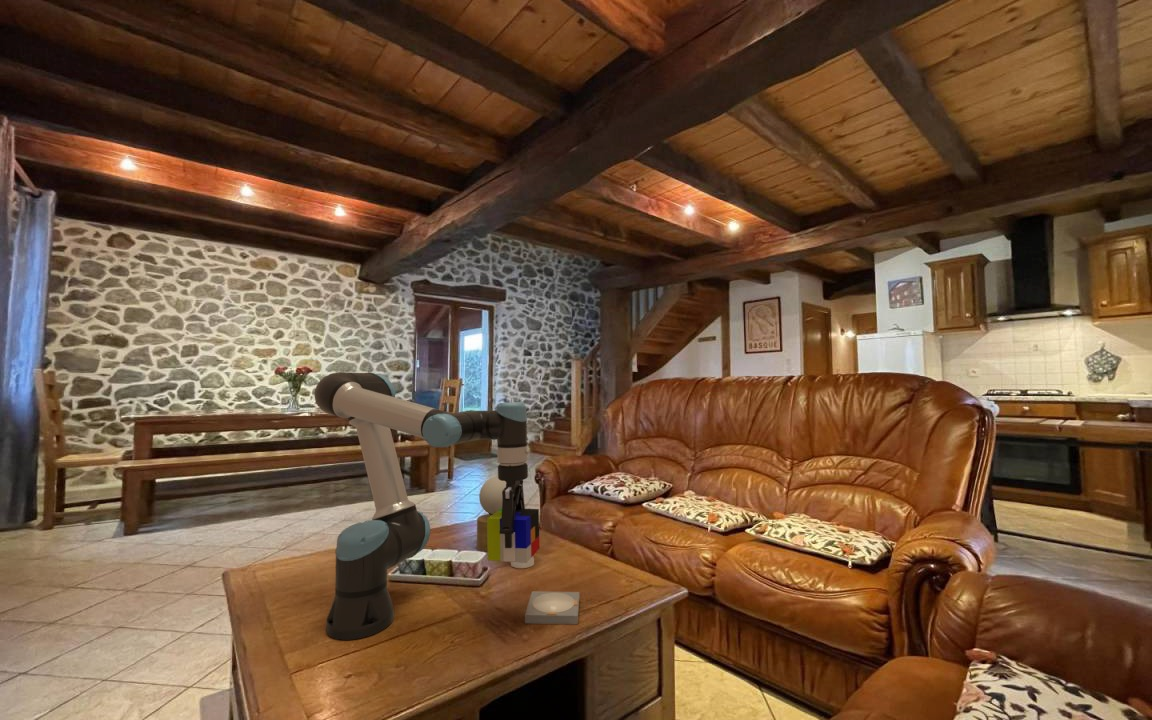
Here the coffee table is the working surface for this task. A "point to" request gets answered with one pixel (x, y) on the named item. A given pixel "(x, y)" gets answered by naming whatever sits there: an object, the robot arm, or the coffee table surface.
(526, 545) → the puzzle toy
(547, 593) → the plinth
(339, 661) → the coffee table surface
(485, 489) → the lamp
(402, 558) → the robot arm
